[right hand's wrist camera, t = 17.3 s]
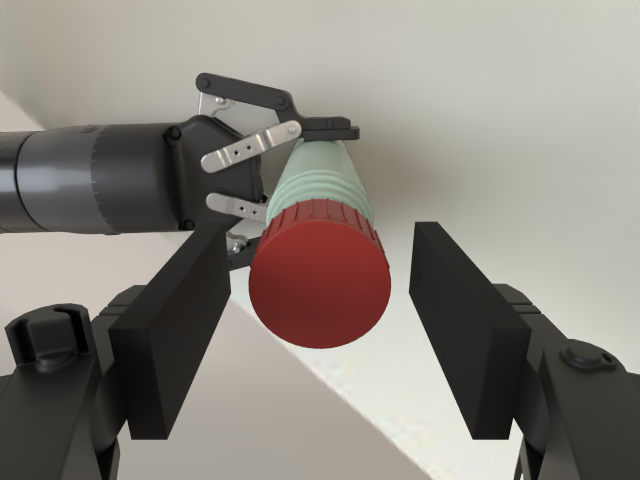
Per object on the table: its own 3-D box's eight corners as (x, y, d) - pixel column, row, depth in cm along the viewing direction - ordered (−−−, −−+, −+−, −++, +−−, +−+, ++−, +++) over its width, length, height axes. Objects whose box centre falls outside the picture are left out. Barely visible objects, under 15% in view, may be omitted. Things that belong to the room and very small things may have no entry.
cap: (292, 173, 13) (286, 192, 11) (404, 232, 14) (421, 261, 12) (239, 278, 15) (223, 315, 12) (343, 326, 15) (347, 370, 13)
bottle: (357, 169, 35) (421, 308, 13) (309, 194, 36) (291, 368, 14) (331, 118, 33) (353, 177, 11) (281, 146, 34) (211, 253, 12)
